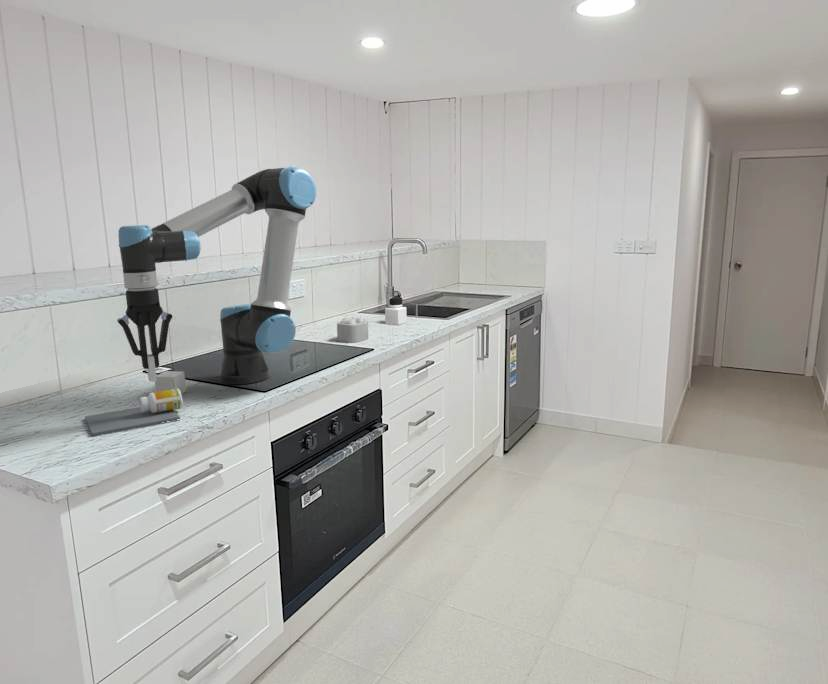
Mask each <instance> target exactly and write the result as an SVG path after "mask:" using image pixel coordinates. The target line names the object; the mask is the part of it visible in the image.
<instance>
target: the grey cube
mask: <svg viewBox="0 0 828 684" xmlns="http://www.w3.org/2000/svg"><path fill="white" fill-rule="evenodd" d="M185 374H186V373H185V371H173V370H171V371H169V370H165V371H163V372H161V373H159V374H156V378H157V381H154V388H155V389H154V390H155V392H158V391H165V390H171V389H179V390H180V392H181V395H182V394H184V393H185V392H187V384H186V375H185Z"/></svg>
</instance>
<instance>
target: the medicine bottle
mask: <svg viewBox="0 0 828 684" xmlns="http://www.w3.org/2000/svg"><path fill="white" fill-rule="evenodd" d="M388 306H389V307H385V309H384V315H385V316H384V322H385V325H394V326H400V325H403V324H406V323H408V322H407V318H408V317H407V316H408V315H407V314H408V313H407V307H406V306H403V297H402V296H391V297H389V298H388Z"/></svg>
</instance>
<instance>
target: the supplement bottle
mask: <svg viewBox="0 0 828 684" xmlns="http://www.w3.org/2000/svg"><path fill="white" fill-rule="evenodd" d="M138 403H139V407H140V409H141V412H142V413H143V412H148V411H151V412H152V413H159V412H164V411H170V410H174V411H175V410H180V409H182V407H183V396H182V394H181V392H180V390H179V389H171V390H165V391H158V392H156V391H153V392H150V393H149V394H148V395H147V396H140V397H139V401H138Z"/></svg>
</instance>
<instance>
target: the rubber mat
mask: <svg viewBox="0 0 828 684" xmlns="http://www.w3.org/2000/svg"><path fill="white" fill-rule="evenodd" d="M84 419H85V422H86V424H87V427H88V428H89V429H88V430H89V431H90V434H91V436H92V437H97V435H99V436H102V435H101V434H104V435H107V434H106V433H109V434H113V433H112V432H115V433H118V432H117V431H120V432H123V430H125V431H129V430H128V429H131V430H133V429H132V428H136V429H140V428H139V427H141V428H144V427H143V426H147V425H152V424H157V423H162V422H167V421H173V420H177V419H180V420H181V417H180V415H179V414H178V413H177V412H176V411H175V410H170V411H164V412H159V413H152V412H151V411H148V412H143V413H142V412H141V409H140V406H138V407H137V406H136V407H131V408H126V409H121V410H115V411H108V412H102V413H97V414H91V415H90V414H89V415H85V416H84ZM173 422H174V421H173ZM162 424H163V423H162ZM157 425H158V424H157ZM152 426H153V425H152ZM147 427H148V426H147Z"/></svg>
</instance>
